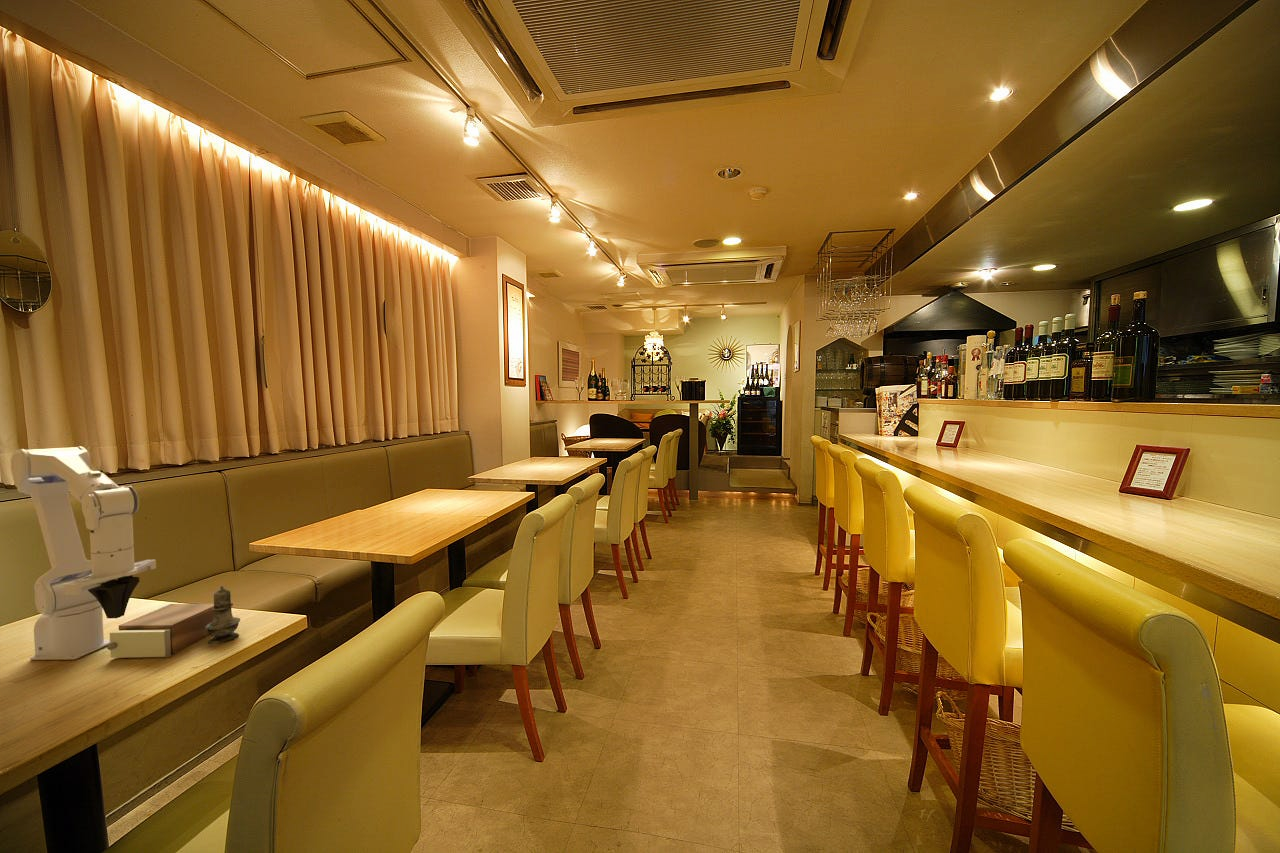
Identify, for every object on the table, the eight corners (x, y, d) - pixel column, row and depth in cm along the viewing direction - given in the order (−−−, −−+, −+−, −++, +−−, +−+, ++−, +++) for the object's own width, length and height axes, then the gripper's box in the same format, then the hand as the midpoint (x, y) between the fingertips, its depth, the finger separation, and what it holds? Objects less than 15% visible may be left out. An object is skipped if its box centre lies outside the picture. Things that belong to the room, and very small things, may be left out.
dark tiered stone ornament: (220, 646, 102) (218, 591, 102) (198, 644, 103) (196, 589, 103) (247, 634, 108) (246, 582, 108) (227, 631, 109) (225, 580, 109)
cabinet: (119, 655, 99) (118, 625, 99) (172, 630, 110) (170, 603, 110) (172, 655, 99) (171, 625, 99) (219, 630, 110) (218, 603, 110)
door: (106, 661, 96) (105, 634, 96) (116, 656, 98) (114, 629, 98) (164, 660, 97) (163, 633, 96) (172, 655, 98) (171, 629, 98)
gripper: (90, 560, 87) (93, 634, 87) (169, 539, 101) (171, 602, 102) (51, 561, 87) (55, 634, 87) (136, 539, 101) (138, 602, 102)
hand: (115, 616), depth 94 cm, fingers closed
